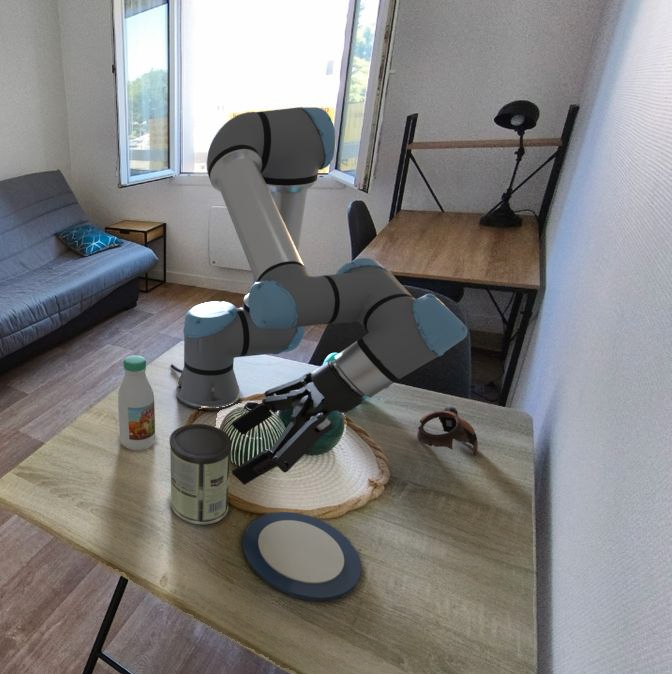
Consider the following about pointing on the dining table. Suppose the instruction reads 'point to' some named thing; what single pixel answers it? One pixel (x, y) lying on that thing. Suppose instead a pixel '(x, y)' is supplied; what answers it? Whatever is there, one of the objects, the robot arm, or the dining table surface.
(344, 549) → the plate
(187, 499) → the coffee can
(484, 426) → the dining table surface
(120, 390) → the milk bottle
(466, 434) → the brown jagged ring piece
